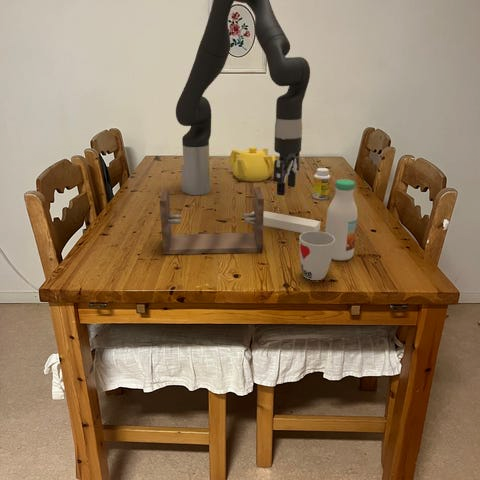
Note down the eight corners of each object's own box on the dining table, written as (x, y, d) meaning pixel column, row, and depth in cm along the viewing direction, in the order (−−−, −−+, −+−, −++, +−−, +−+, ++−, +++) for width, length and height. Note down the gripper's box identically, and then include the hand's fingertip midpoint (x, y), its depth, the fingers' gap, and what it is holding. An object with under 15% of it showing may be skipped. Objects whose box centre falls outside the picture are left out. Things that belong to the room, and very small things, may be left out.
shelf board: (249, 223, 142) (249, 214, 141) (256, 218, 146) (256, 209, 145) (314, 236, 133) (315, 227, 132) (319, 230, 137) (320, 221, 136)
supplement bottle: (319, 201, 160) (322, 172, 156) (309, 196, 164) (311, 168, 160) (331, 198, 163) (334, 169, 158) (321, 194, 167) (323, 166, 163)
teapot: (278, 181, 180) (279, 151, 175) (236, 184, 177) (236, 153, 172) (266, 170, 195) (267, 141, 190) (227, 172, 192) (227, 143, 187)
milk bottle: (335, 263, 117) (343, 187, 109) (317, 251, 123) (323, 179, 115) (359, 257, 120) (368, 183, 112) (340, 246, 126) (347, 175, 118)
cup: (294, 268, 114) (296, 231, 110) (326, 267, 115) (329, 230, 111) (300, 285, 107) (303, 246, 103) (335, 283, 108) (339, 244, 104)
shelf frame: (163, 255, 121) (159, 200, 115) (166, 239, 130) (163, 188, 124) (262, 252, 123) (263, 198, 116) (258, 237, 132) (259, 186, 126)
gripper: (284, 129, 136) (283, 182, 142) (265, 138, 124) (264, 196, 131) (309, 131, 133) (306, 185, 139) (291, 140, 121) (289, 199, 128)
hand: (286, 190), depth 135 cm, fingers open, 8 cm apart
